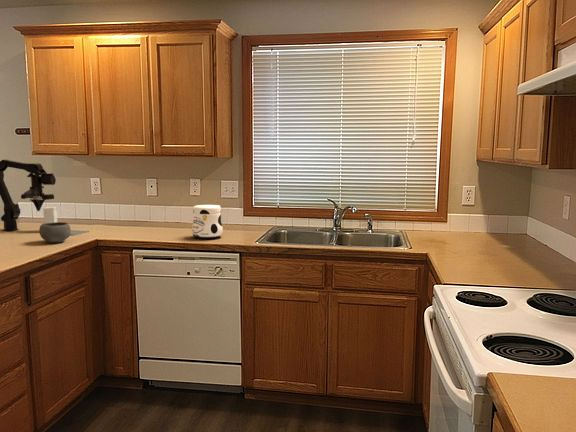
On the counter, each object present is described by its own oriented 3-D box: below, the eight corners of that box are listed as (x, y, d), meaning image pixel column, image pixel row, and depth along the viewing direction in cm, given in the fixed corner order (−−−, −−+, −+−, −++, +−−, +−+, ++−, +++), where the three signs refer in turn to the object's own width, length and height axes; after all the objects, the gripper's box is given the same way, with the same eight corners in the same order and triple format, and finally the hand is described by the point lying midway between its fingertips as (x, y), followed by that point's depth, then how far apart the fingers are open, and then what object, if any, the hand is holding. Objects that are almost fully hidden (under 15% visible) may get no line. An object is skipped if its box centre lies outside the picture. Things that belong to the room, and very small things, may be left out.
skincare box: (55, 232, 291) (54, 207, 289) (44, 233, 289) (42, 207, 287) (58, 230, 299) (57, 206, 297) (47, 230, 297) (46, 206, 295)
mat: (49, 234, 286) (49, 233, 286) (65, 230, 300) (65, 229, 300) (74, 235, 283) (74, 234, 283) (89, 231, 296) (89, 230, 296)
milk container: (187, 239, 275) (187, 207, 273) (197, 234, 292) (197, 204, 290) (217, 240, 273) (217, 208, 270) (226, 235, 290) (225, 204, 287)
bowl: (62, 238, 273) (61, 220, 272) (76, 242, 264) (75, 223, 262) (34, 242, 262) (33, 223, 260) (48, 246, 252) (47, 226, 251)
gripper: (13, 185, 286) (14, 212, 289) (40, 186, 282) (42, 213, 284) (27, 184, 297) (28, 209, 299) (54, 184, 293) (55, 210, 295)
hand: (38, 210), depth 294 cm, fingers closed
